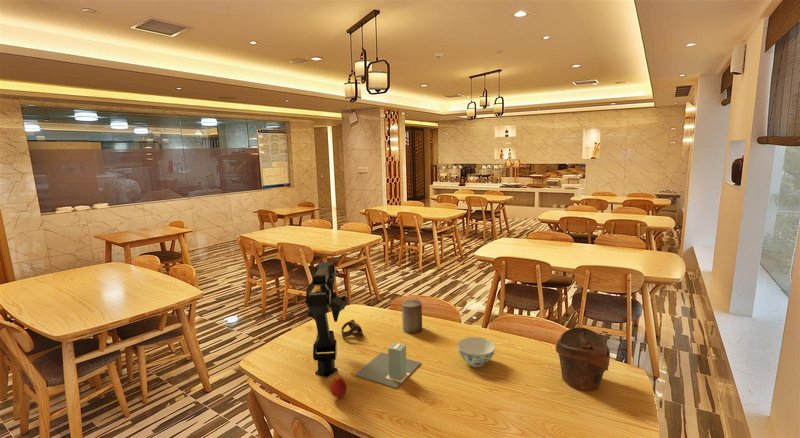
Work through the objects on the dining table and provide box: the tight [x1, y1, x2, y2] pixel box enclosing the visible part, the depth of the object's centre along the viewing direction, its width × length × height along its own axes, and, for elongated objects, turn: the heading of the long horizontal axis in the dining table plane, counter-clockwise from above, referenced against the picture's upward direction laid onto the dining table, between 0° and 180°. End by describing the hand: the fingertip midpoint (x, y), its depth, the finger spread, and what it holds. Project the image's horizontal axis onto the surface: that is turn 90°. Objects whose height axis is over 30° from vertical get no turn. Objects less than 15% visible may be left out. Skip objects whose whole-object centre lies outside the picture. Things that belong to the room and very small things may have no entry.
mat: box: [354, 351, 422, 390], centre depth 159 cm, size 20×19×1 cm
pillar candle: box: [401, 298, 423, 334], centre depth 194 cm, size 10×10×15 cm
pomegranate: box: [329, 376, 348, 399], centre depth 140 cm, size 6×6×8 cm
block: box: [387, 342, 407, 380], centre depth 152 cm, size 5×5×12 cm
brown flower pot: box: [555, 327, 611, 392], centre depth 146 cm, size 18×20×18 cm
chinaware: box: [457, 336, 496, 368], centre depth 162 cm, size 15×15×8 cm
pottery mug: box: [340, 319, 364, 338], centre depth 190 cm, size 12×10×8 cm
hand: (328, 325), depth 170 cm, fingers open, 9 cm apart
